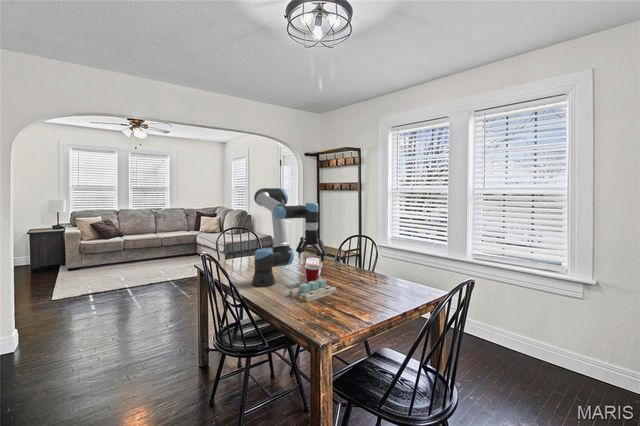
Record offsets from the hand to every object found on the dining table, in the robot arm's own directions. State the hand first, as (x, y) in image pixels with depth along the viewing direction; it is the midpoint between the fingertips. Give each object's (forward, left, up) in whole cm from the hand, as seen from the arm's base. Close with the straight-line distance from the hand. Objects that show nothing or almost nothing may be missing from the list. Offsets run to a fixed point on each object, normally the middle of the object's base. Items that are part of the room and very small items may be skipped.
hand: (310, 265), depth 187 cm
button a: (-2, -3, -15) cm, 16 cm away
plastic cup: (-17, +19, -18) cm, 32 cm away
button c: (-2, +11, -15) cm, 19 cm away
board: (-2, +4, -18) cm, 19 cm away
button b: (-2, +4, -15) cm, 16 cm away
